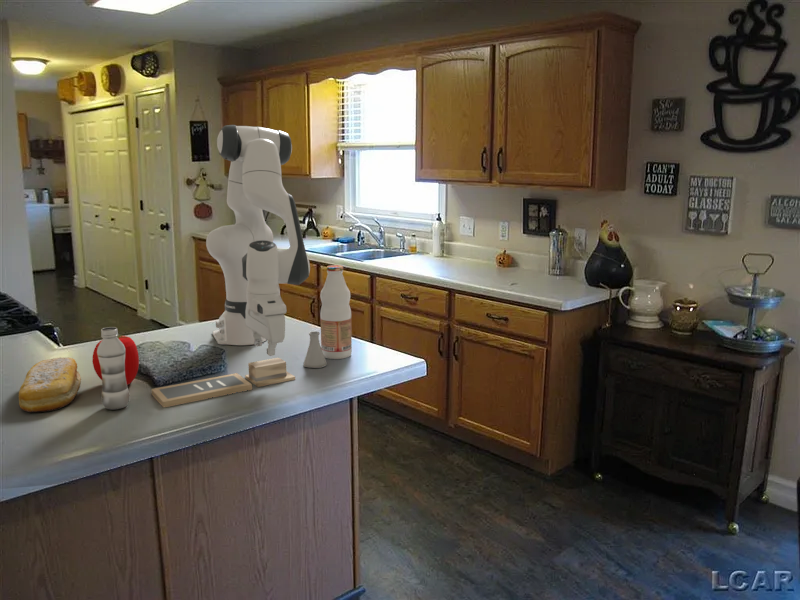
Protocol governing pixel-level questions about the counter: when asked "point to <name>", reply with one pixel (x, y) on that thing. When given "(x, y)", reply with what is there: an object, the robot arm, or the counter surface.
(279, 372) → the block
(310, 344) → the flask
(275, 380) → the pad
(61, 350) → the counter surface
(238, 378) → the chalkboard
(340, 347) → the fruit juice
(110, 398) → the plastic bottle
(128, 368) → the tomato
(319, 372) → the counter surface
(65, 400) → the bread
